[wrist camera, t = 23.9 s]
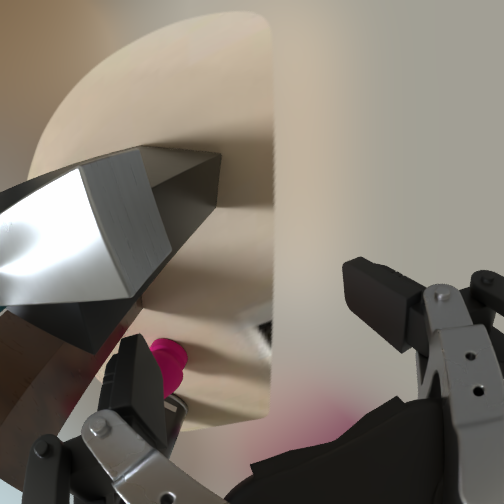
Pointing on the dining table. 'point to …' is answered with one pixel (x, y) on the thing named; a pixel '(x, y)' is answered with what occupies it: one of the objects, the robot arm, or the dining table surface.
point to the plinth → (41, 385)
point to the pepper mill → (169, 363)
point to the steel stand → (175, 223)
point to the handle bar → (83, 236)
